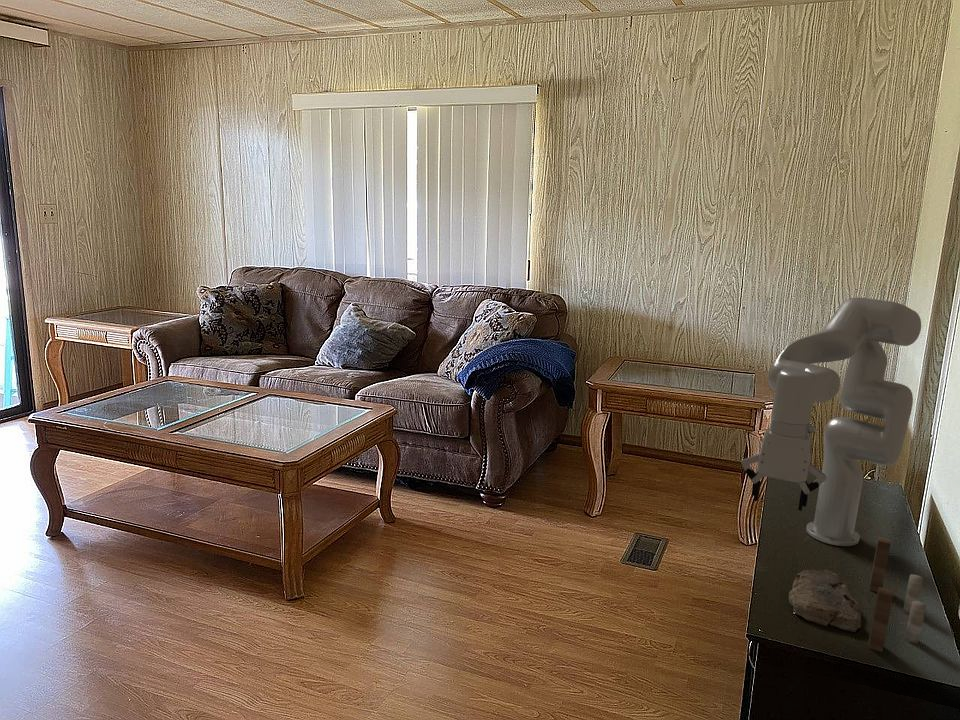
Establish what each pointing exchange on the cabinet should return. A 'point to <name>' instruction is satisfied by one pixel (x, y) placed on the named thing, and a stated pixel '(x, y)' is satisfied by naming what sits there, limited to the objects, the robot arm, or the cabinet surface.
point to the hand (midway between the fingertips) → (778, 503)
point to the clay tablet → (824, 600)
